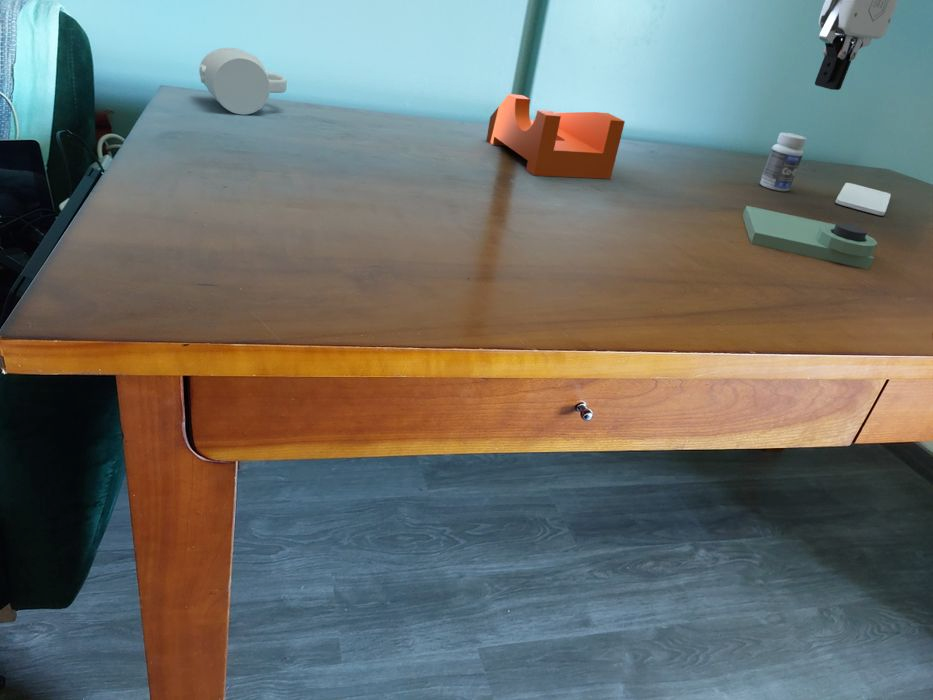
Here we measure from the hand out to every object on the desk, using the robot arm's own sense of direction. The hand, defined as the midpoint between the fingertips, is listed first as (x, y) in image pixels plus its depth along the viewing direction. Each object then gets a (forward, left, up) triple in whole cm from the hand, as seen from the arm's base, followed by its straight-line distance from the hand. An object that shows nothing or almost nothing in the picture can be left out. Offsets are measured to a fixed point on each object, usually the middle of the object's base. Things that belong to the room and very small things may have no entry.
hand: (826, 87), depth 104 cm
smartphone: (-14, -10, -17) cm, 24 cm away
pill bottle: (+1, -7, -17) cm, 18 cm away
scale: (+1, +21, -17) cm, 27 cm away
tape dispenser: (+37, +6, -17) cm, 41 cm away
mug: (+83, +14, -17) cm, 86 cm away
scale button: (-3, +24, -14) cm, 28 cm away
